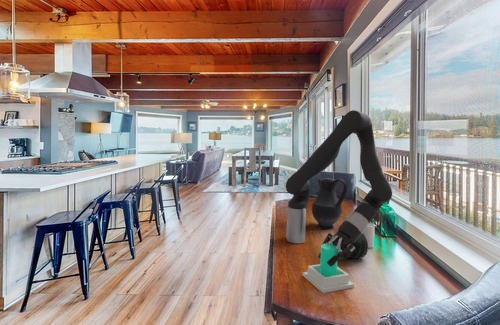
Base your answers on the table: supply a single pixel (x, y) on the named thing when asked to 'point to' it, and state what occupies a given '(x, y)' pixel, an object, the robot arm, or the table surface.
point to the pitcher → (328, 203)
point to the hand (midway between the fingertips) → (324, 261)
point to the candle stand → (327, 279)
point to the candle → (327, 254)
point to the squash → (359, 247)
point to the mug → (370, 234)
